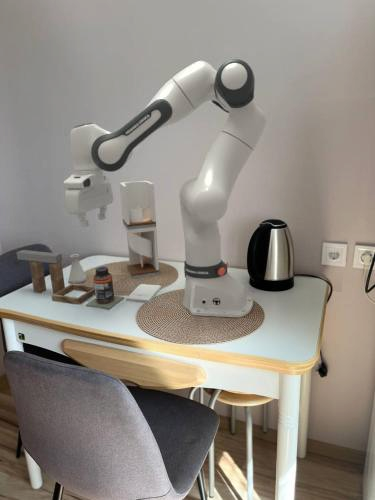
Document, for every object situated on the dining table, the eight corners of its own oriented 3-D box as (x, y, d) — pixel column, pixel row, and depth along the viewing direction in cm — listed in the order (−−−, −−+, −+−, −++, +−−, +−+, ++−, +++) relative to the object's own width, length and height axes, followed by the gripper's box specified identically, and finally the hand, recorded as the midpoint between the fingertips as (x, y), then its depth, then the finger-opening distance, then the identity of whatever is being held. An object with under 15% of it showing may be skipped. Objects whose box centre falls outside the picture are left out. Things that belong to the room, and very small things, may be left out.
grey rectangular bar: (62, 260, 136) (61, 253, 136) (56, 263, 134) (55, 256, 133) (23, 256, 143) (22, 250, 142) (17, 259, 140) (16, 252, 139)
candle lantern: (127, 269, 161) (119, 182, 151) (152, 266, 164) (147, 180, 154) (131, 278, 151) (124, 186, 140) (159, 275, 154) (153, 184, 143)
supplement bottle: (104, 295, 135) (101, 264, 132) (118, 298, 132) (115, 266, 129) (92, 302, 130) (88, 269, 127) (106, 305, 127) (102, 272, 124)
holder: (98, 292, 140) (95, 260, 136) (79, 304, 130) (75, 271, 126) (47, 285, 148) (42, 255, 144) (25, 296, 138) (20, 264, 135)
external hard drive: (161, 289, 141) (148, 304, 130) (140, 288, 143) (125, 302, 132) (161, 285, 141) (148, 299, 129) (139, 283, 143) (125, 297, 131)
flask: (89, 277, 155) (87, 252, 152) (83, 284, 148) (80, 258, 145) (71, 277, 155) (68, 252, 152) (64, 284, 148) (61, 258, 145)
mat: (124, 298, 134) (124, 296, 133) (109, 309, 126) (109, 308, 125) (101, 295, 137) (101, 293, 137) (85, 305, 129) (85, 304, 129)
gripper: (99, 174, 133) (103, 215, 137) (59, 183, 115) (65, 229, 119) (115, 174, 131) (119, 216, 135) (77, 183, 112) (83, 231, 117)
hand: (93, 222), depth 127 cm, fingers open, 8 cm apart
